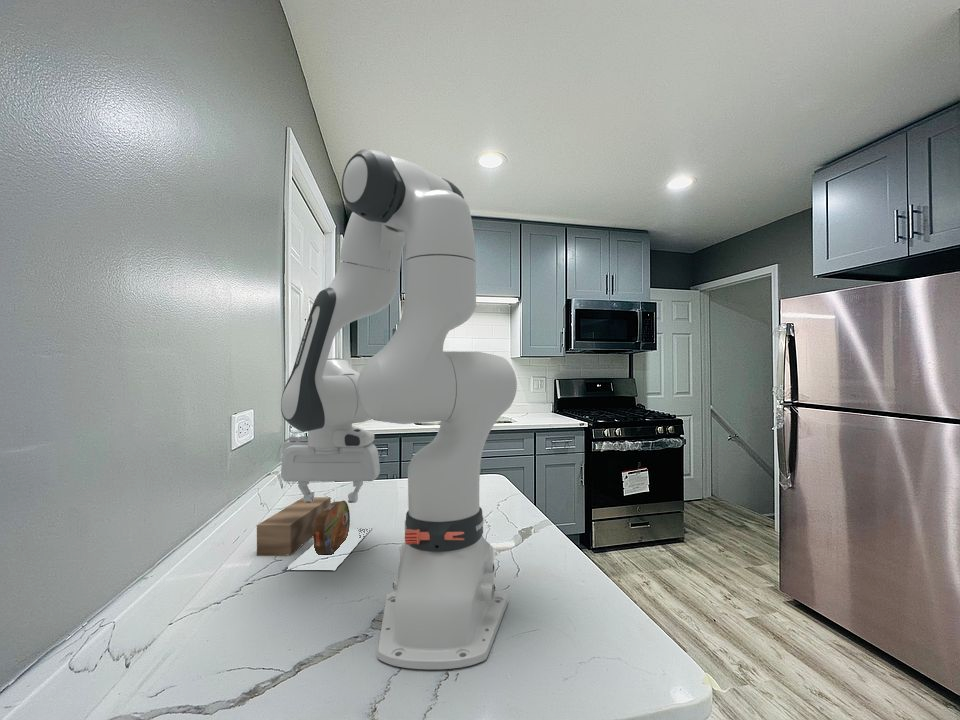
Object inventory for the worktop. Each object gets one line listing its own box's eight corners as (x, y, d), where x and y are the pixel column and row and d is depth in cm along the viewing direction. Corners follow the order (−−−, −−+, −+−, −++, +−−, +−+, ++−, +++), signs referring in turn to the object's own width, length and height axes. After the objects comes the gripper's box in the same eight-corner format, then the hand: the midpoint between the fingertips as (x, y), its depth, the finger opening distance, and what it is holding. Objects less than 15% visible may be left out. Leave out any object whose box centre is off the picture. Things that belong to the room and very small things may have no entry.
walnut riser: (290, 555, 87) (290, 525, 88) (256, 555, 88) (256, 525, 88) (330, 521, 107) (330, 497, 108) (303, 521, 108) (303, 497, 108)
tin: (326, 562, 83) (326, 517, 84) (310, 562, 83) (309, 517, 84) (351, 533, 98) (350, 495, 99) (337, 533, 98) (337, 496, 99)
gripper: (274, 438, 89) (275, 506, 89) (372, 438, 88) (373, 506, 88) (289, 434, 96) (290, 497, 95) (381, 433, 94) (382, 497, 94)
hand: (331, 502), depth 92 cm, fingers open, 8 cm apart
